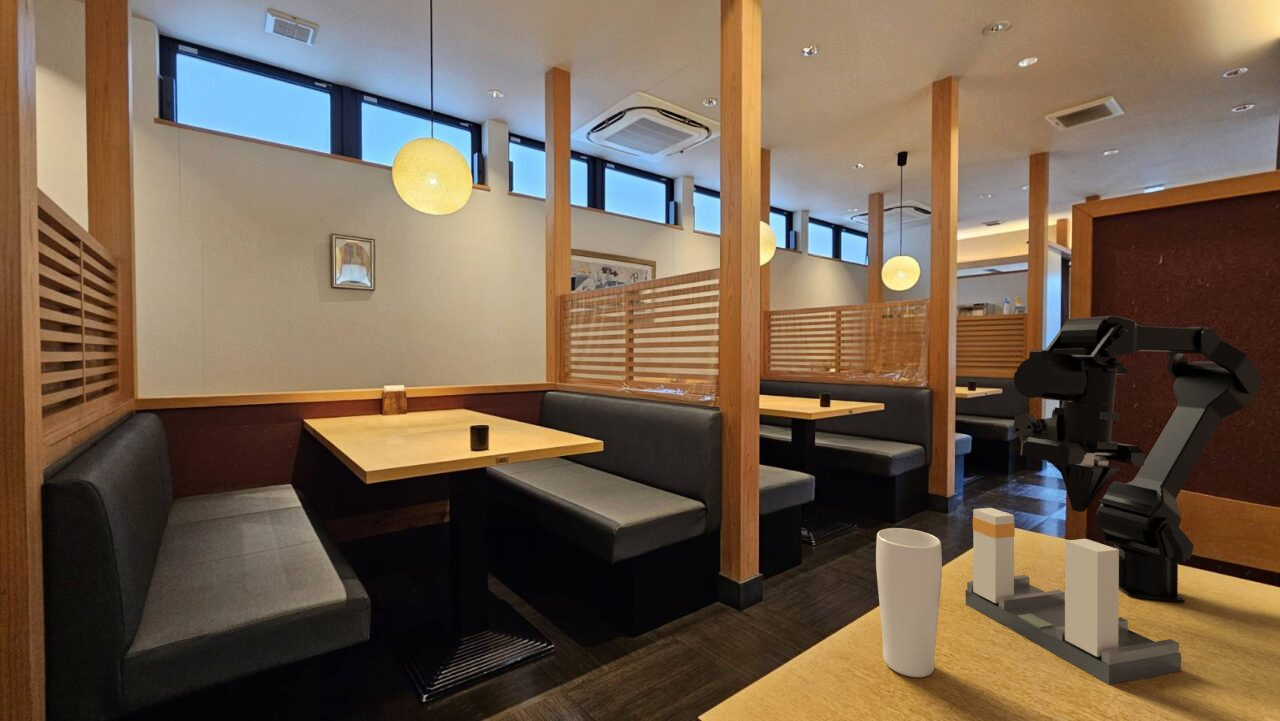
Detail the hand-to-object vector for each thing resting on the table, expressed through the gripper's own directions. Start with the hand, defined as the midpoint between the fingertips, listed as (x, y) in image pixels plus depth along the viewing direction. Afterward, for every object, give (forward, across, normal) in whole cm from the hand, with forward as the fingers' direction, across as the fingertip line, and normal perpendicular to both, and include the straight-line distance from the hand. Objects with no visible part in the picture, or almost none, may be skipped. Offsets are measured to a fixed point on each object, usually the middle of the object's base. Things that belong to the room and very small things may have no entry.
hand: (1077, 511), depth 77 cm
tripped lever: (+12, +13, -2) cm, 18 cm away
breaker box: (+14, +11, +5) cm, 18 cm away
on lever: (+12, +15, +11) cm, 22 cm away
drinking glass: (+17, +34, +3) cm, 38 cm away
